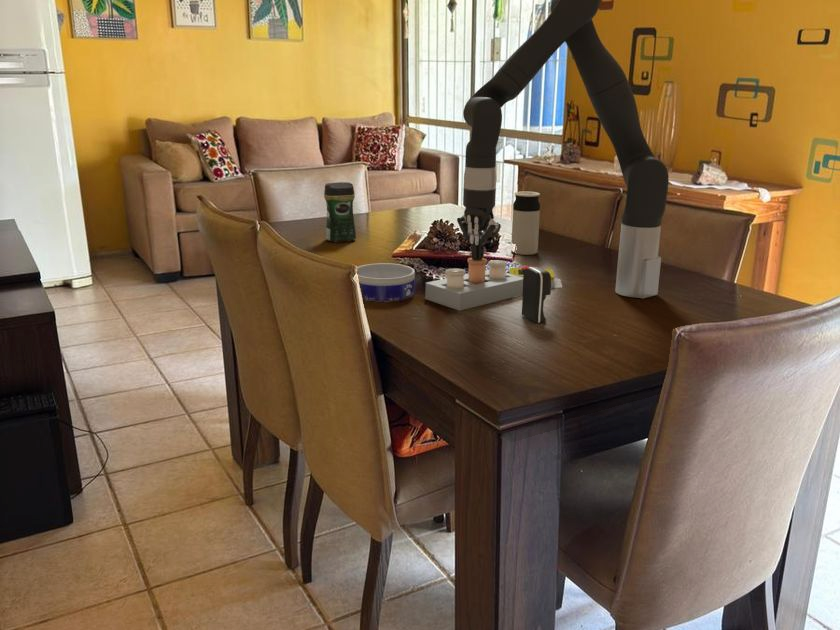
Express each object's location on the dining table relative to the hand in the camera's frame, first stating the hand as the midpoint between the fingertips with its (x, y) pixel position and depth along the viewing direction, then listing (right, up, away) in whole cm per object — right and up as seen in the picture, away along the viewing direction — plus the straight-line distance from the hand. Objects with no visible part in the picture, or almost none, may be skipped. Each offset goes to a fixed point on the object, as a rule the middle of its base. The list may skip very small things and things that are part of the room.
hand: (477, 259), depth 181 cm
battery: (+12, -14, -14) cm, 23 cm away
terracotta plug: (0, -7, +2) cm, 7 cm away
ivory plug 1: (-5, -10, -2) cm, 11 cm away
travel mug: (+18, +5, +49) cm, 53 cm away
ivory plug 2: (+5, -7, +7) cm, 11 cm away
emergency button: (+15, -6, +16) cm, 23 cm away
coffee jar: (-39, +11, +64) cm, 76 cm away
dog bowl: (-23, -8, +5) cm, 25 cm away
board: (0, -9, +3) cm, 9 cm away
